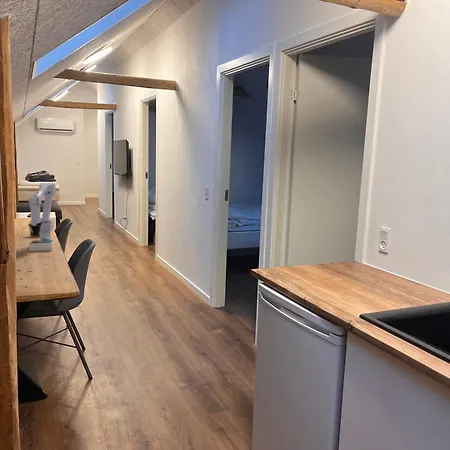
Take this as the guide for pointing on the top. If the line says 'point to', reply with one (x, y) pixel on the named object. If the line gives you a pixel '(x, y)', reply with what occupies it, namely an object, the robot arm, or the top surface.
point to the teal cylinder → (46, 240)
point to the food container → (31, 230)
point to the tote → (41, 246)
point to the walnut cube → (37, 241)
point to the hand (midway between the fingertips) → (36, 234)
